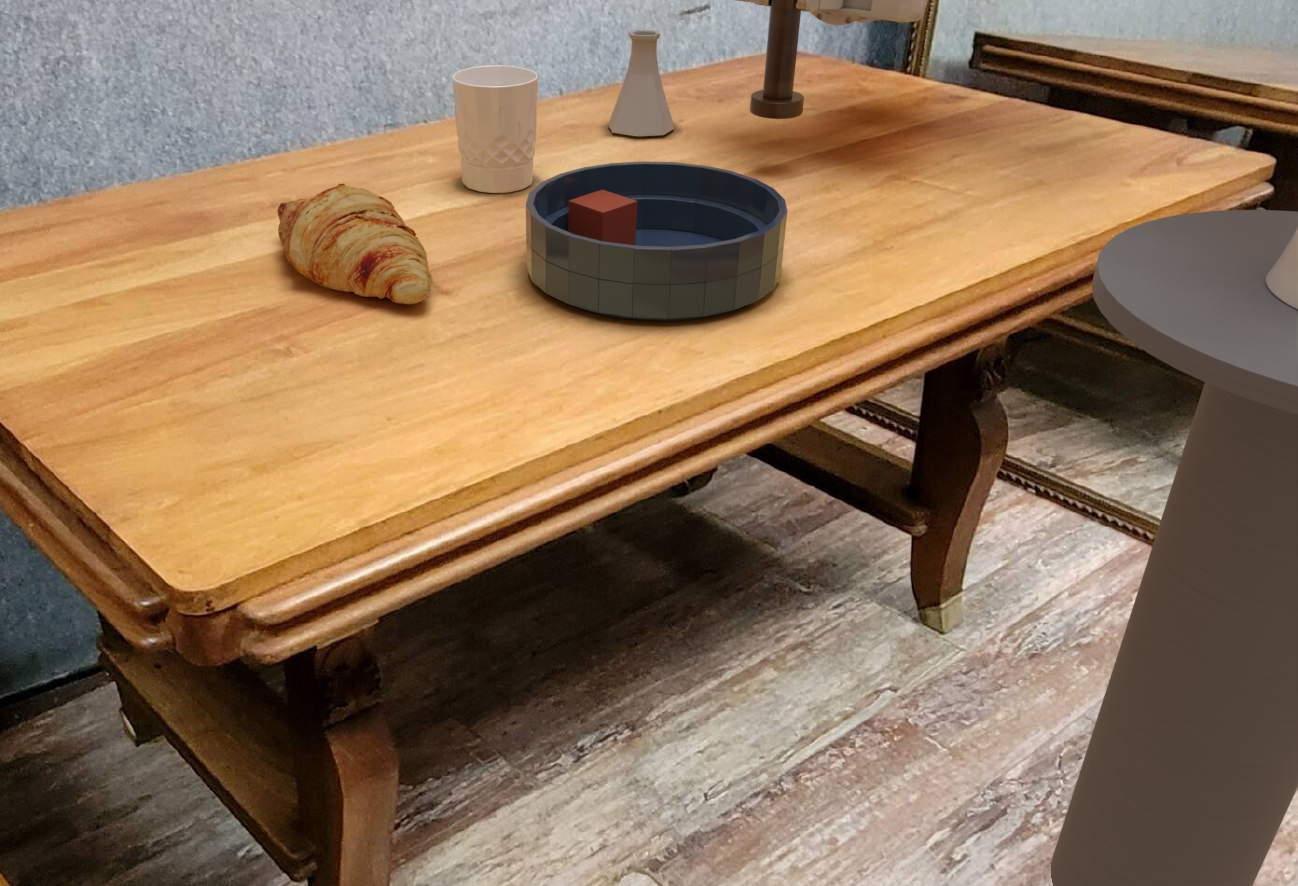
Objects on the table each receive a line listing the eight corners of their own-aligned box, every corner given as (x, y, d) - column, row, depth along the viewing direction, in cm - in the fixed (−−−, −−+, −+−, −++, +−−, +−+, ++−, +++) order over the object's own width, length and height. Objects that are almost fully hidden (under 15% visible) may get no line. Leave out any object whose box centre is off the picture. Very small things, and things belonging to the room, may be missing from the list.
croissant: (458, 344, 97) (495, 247, 95) (356, 319, 89) (394, 214, 87) (317, 260, 110) (346, 174, 108) (218, 233, 103) (248, 140, 101)
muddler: (811, 110, 119) (834, -97, 109) (787, 122, 116) (808, -90, 106) (765, 101, 122) (783, -101, 112) (740, 113, 119) (756, -95, 109)
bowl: (821, 261, 102) (829, 190, 99) (700, 349, 88) (706, 270, 85) (614, 213, 112) (616, 147, 109) (477, 286, 98) (474, 212, 95)
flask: (671, 140, 130) (676, 41, 125) (603, 137, 132) (605, 38, 126) (677, 121, 136) (682, 25, 131) (612, 118, 137) (614, 23, 132)
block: (635, 247, 103) (637, 200, 101) (602, 260, 101) (603, 212, 99) (601, 235, 106) (602, 189, 104) (568, 246, 103) (568, 200, 101)
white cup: (548, 173, 121) (548, 68, 116) (524, 199, 115) (523, 89, 110) (473, 166, 123) (469, 62, 118) (444, 191, 117) (439, 82, 111)
